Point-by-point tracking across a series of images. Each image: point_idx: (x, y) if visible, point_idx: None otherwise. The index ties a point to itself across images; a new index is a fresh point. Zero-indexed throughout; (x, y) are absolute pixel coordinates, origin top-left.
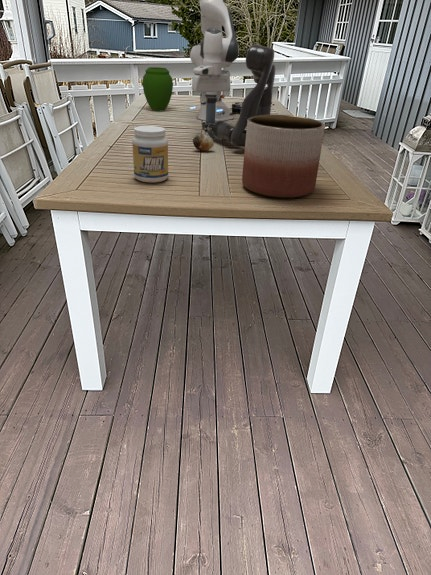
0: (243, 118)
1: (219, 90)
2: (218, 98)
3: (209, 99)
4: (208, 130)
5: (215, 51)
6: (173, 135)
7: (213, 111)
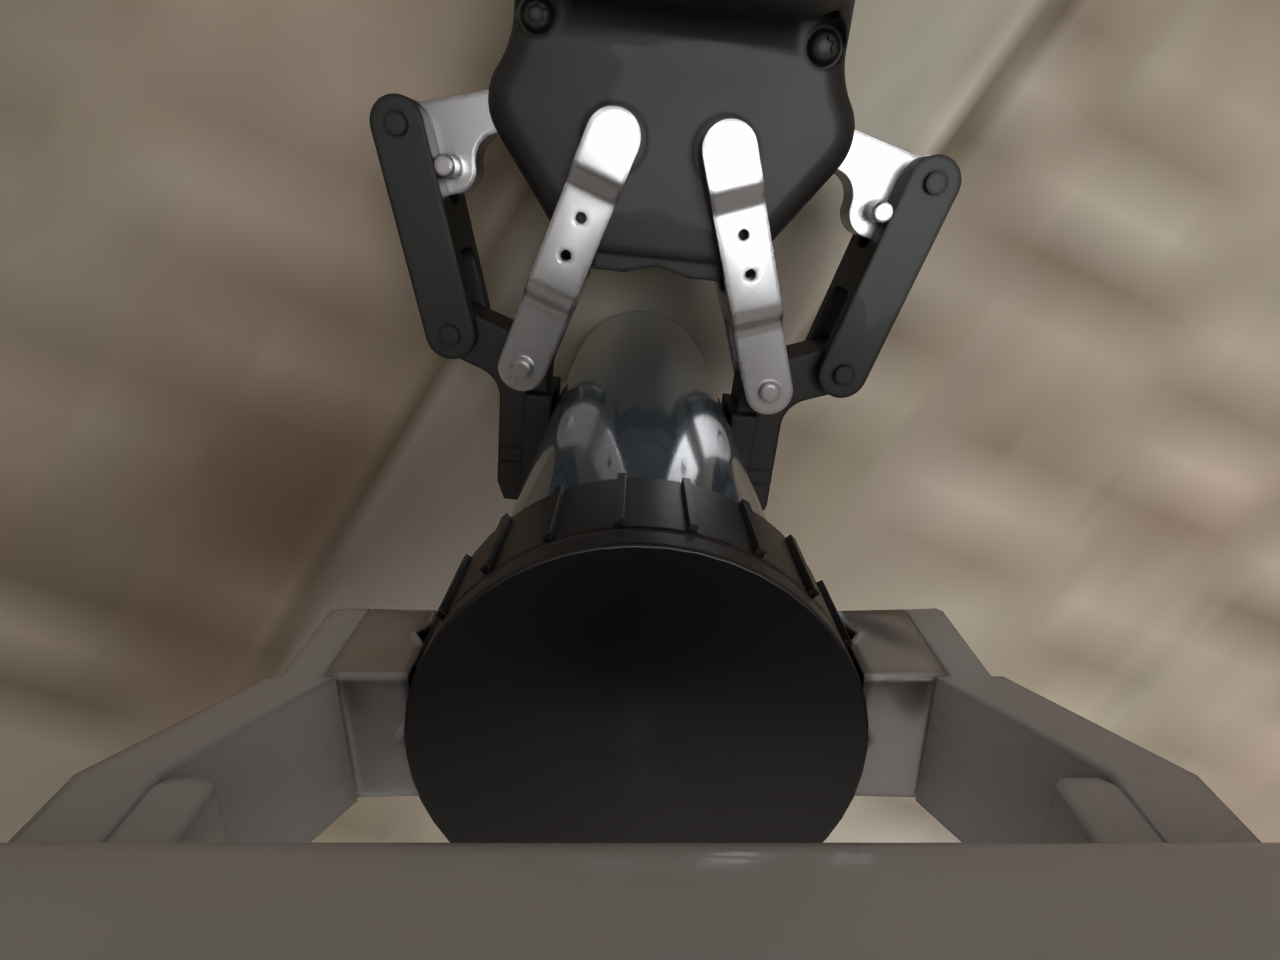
0: None
1: (114, 877)
2: (321, 664)
3: (818, 600)
4: (702, 361)
5: None
6: (1003, 646)
7: (636, 413)
